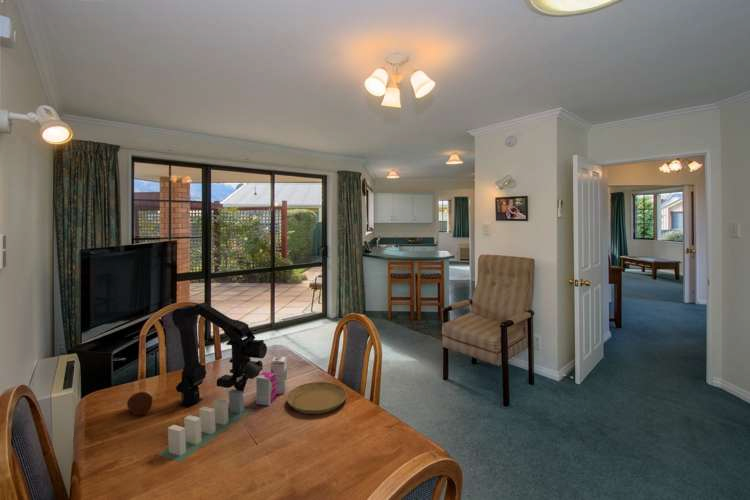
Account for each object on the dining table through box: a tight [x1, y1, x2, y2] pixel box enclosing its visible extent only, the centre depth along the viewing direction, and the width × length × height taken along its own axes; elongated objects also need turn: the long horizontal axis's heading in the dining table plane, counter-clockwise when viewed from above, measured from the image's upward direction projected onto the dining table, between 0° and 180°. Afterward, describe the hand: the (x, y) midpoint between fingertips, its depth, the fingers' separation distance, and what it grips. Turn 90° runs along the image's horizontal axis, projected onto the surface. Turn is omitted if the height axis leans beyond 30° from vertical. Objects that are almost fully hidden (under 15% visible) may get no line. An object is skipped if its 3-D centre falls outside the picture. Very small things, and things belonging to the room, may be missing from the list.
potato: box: [126, 391, 154, 416], centre depth 134 cm, size 8×12×8 cm, turn 63°
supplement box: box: [255, 371, 277, 407], centre depth 141 cm, size 6×6×12 cm
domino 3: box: [198, 406, 216, 434], centre depth 121 cm, size 5×2×8 cm, turn 69°
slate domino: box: [228, 388, 245, 414], centre depth 134 cm, size 5×2×8 cm, turn 70°
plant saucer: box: [286, 381, 348, 415], centre depth 142 cm, size 24×24×3 cm
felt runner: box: [157, 406, 253, 463], centre depth 122 cm, size 10×32×1 cm, turn 159°
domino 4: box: [212, 398, 229, 425], centre depth 126 cm, size 5×2×8 cm, turn 69°
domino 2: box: [183, 414, 202, 445], centre depth 115 cm, size 5×2×8 cm, turn 69°
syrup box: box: [270, 356, 288, 395], centre depth 150 cm, size 6×6×14 cm
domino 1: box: [167, 424, 186, 456], centre depth 110 cm, size 5×2×8 cm, turn 69°
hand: (240, 394), depth 136 cm, fingers closed
